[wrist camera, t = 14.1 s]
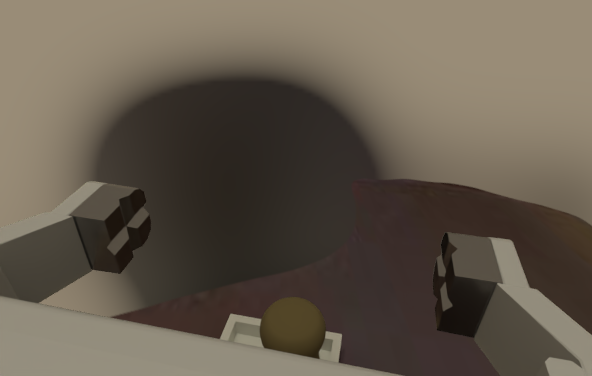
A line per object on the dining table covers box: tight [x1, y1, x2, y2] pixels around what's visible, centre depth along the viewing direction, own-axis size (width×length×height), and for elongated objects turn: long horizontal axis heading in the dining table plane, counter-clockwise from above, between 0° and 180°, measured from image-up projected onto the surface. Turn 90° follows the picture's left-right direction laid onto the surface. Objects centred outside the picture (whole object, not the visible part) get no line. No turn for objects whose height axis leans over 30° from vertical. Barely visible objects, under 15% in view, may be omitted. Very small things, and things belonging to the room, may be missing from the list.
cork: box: [260, 297, 326, 359], centre depth 34 cm, size 6×6×11 cm
